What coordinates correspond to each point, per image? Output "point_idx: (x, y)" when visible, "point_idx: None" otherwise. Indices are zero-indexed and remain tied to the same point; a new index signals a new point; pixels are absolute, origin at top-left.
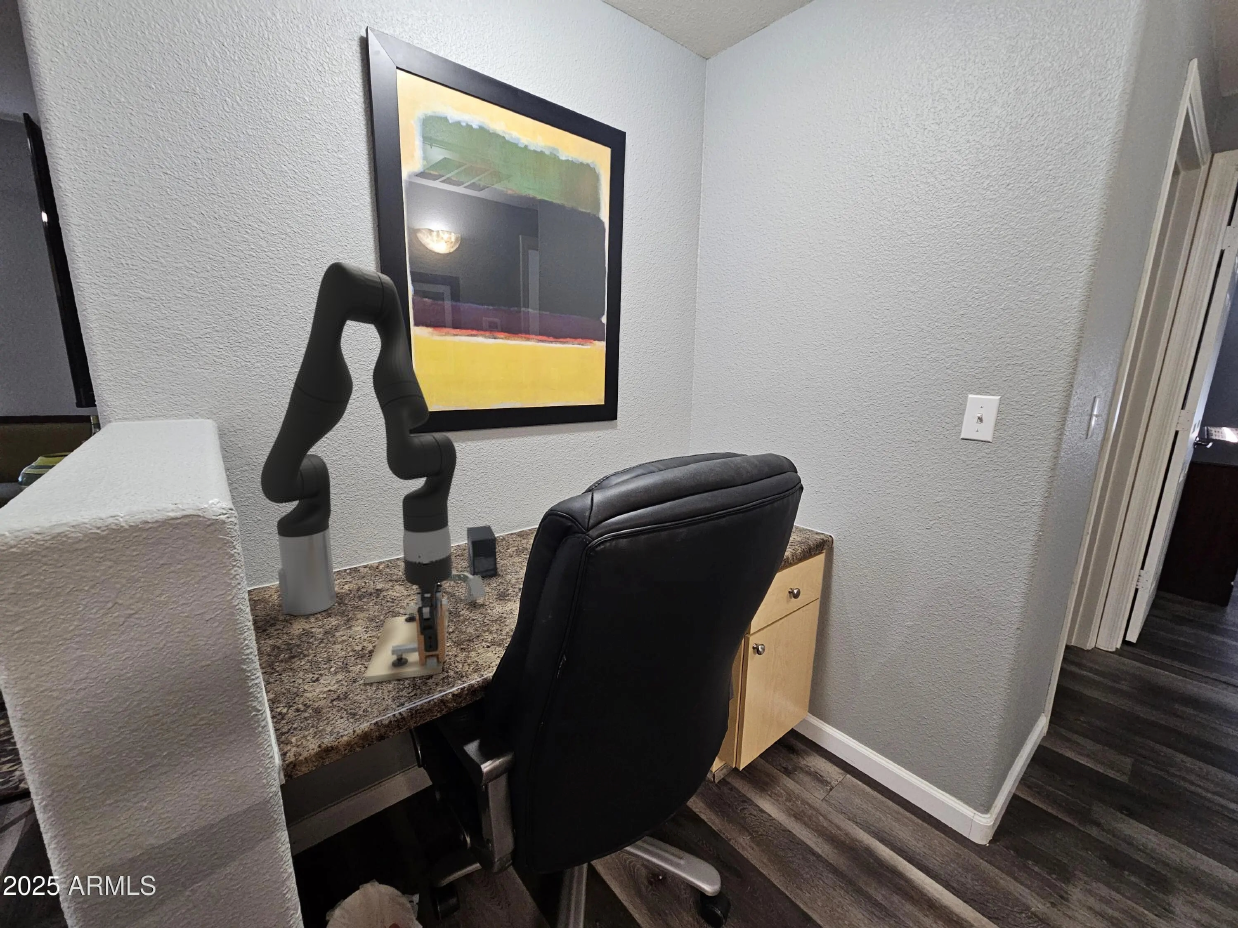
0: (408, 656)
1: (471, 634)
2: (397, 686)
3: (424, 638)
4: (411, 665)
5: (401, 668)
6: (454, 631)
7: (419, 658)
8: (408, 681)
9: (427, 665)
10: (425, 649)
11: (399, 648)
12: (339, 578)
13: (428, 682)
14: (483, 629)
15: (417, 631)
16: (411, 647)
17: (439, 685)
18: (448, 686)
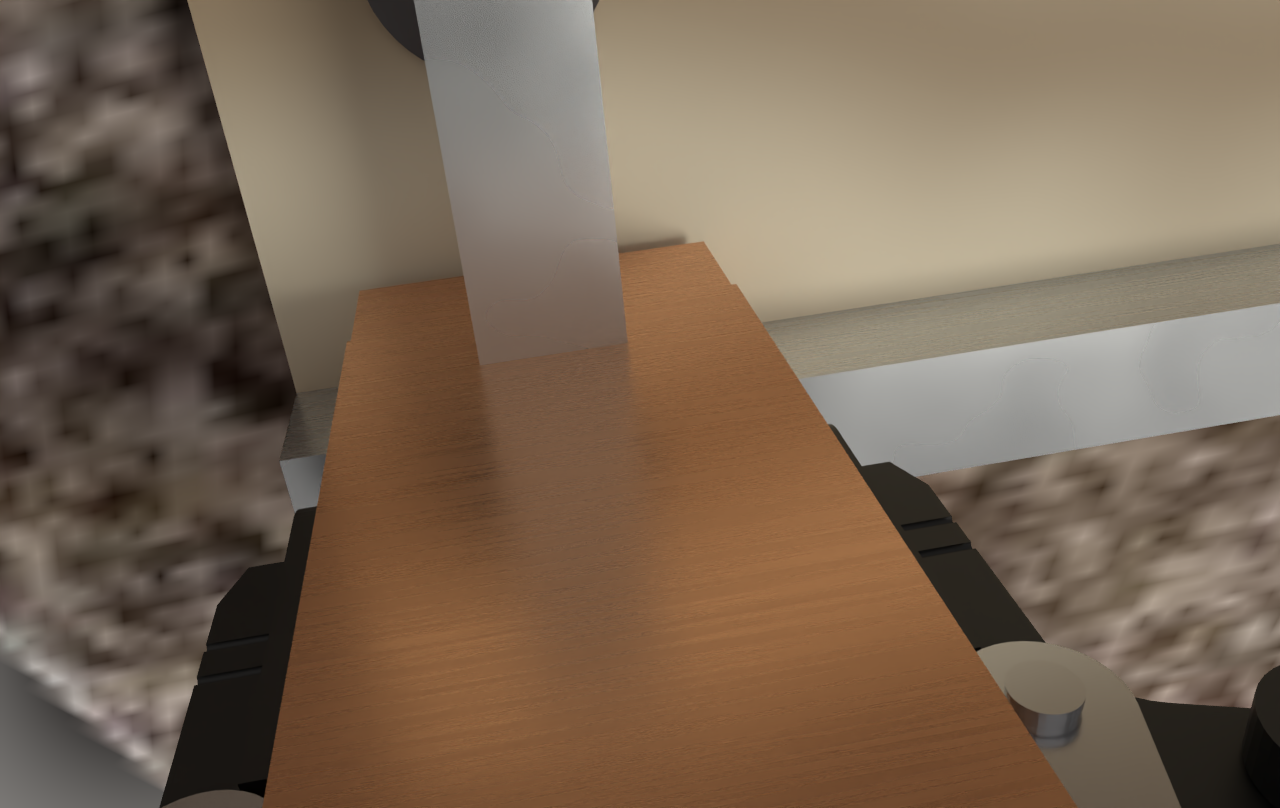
0: (637, 48)
1: (1087, 611)
2: (17, 16)
3: (261, 690)
4: (377, 162)
5: (306, 20)
6: (1225, 432)
7: (355, 335)
8: (152, 145)
9: (292, 423)
10: (294, 540)
11: (438, 10)
12: None
13: (144, 401)
14: (1144, 694)
15: (293, 660)
16: (462, 243)
17: (91, 531)
18: (80, 620)
